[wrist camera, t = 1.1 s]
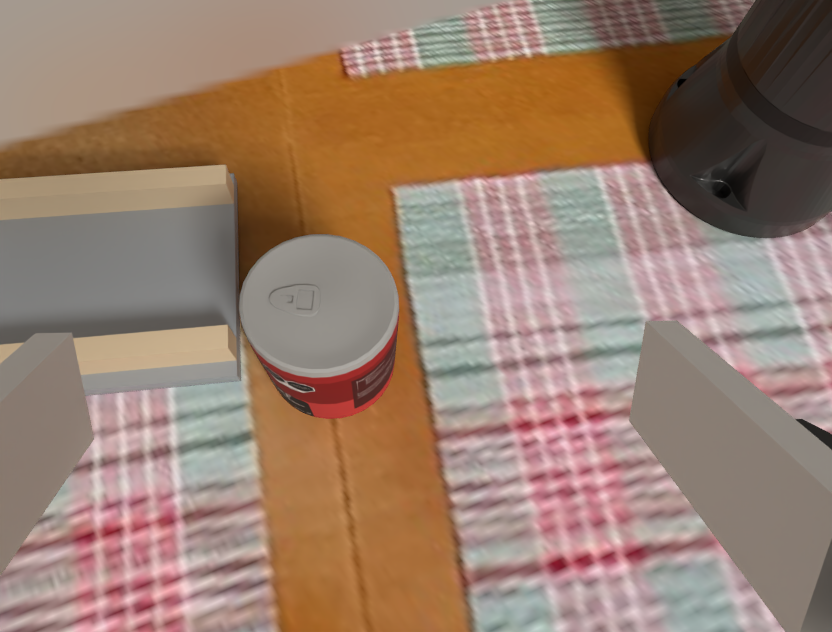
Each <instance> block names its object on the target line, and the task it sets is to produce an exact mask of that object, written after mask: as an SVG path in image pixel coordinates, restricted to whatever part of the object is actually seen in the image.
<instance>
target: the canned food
mask: <svg viewBox="0 0 832 632" xmlns="http://www.w3.org/2000/svg"><path fill="white" fill-rule="evenodd" d="M239 312H240V317H241V322H242V327H243V330H244V332H245V334H246V337H247V339H248V341H249V343H250V344H251V347H252V349H253V350H254V352H255V354H256V355H257V357H258V359H259V360H260V362H261V364H262V365H263V367H264V369H265V370H266V372H267V374H268V375H269V377H270V379H271V380H272V382H273V383H274V385H275V387H276V388H277V390H278V391H279V393H280V394H281V395H282V397H283V398H284V399H285V400H286V401H287V402H288V403H289V404H290V405H291V406H293V407H294V408H296V409H298V410H299V411H301V412H303V413H305V414H308V415H311V416H314V417H319V418H326V419H332V418H343V417H347V416H352V415H354V414H356V413H359V412H361V411H363V410H365V409H366V408H368V407H369V406H371V405H372V404H374V403H375V402H376V401H377V400H378V399H379V398H380V397H381V396H382V394H383V393H384V391H385V390H386V388H387V387H388V385H389V382H390V380H391V377H392V375H393V368H394V361H395V351H396V341H397V331H398V321H399V299H398V293H397V289H396V285H395V282H394V279H393V277H392V275H391V273H390V271H389V269H388V267H387V266H386V265H385V264H384V263H383V261H382V260H381V259H380V258H379V257H378V256H377V255H376V254H375V253H373V252H372V251H371V250H370V249H368V248H367V247H365V246H363V245H361V244H360V243H358V242H356V241H353V240H350V239H347V238H344V237H341V236H335V235H328V234H314V235H306V236H301V237H296V238H293V239H291V240H288V241H285V242H282V243H281V244H279V245H277V246H276V247H274V248H272V249H270V250H269V251H268V252H267V253H265V254H264V255H263V256H262V257H261V258H260V259H258V261H257V262H256V263H255V264H254V266H253V267H252V268H251V269H250V271H249V273H248V275H247V277H246V279H245V280H244V282H243V286H242V290H241V293H240V302H239Z"/></svg>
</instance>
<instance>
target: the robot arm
mask: <svg viewBox="0 0 832 632" xmlns="http://www.w3.org/2000/svg"><path fill="white" fill-rule="evenodd" d="M649 149H650V154H651V158H652V161H653V164H654V167H655V169H656V171H657V173H658V175H659V177H660V179H661V180H662V182H663V184H664V185H665V186H666V188H667V189H668V190H669V192H670V193H671V194H672V195H673V196H674V197H675V198H676V199H677V200H678V201H679V202H680V203H681V204H682V205H683V206H684V207H685V208H686V209H688V210H689V211H690V212H692V213H693V214H694V215H696V216H697V217H699V218H700V219H702V220H704V221H705V222H707V223H709V224H711V225H713V226H715V227H718V228H720V229H722V230H725V231H728V232H731V233H734V234H738V235H743V236H748V237H756V238H776V237H783V236H788V235H792V234H795V233H798V232H801V231H803V230H805V229H807V228H809V227H811V226H812V225H814V224H815V223H817V222H818V221H819V220H820V219H822V218H823V217H824V216H826V215H827V214H828V213H829V212H831V211H832V0H756V1H755V2H754V4H753V5H752V7H751V8H750V10H749V11H748V13H747V14H746V16H745V17H744V19H743V20H742V22H741V23H740V25H739V26H738V28H737V29H736V31H735V32H734V34H733V35H732V36H731V37H730V38H729V39H728V40H726V41H725V42H724V43H723V44H721V45H720V46H719V47H717V48H716V49H715V50H713V51H712V52H711V53H709V54H708V55H707V56H705V57H704V58H703V59H702V60H701V61H699V62H698V63H697V64H696V65H695V66H693V67H691V68H690V69H688V70H687V71H686V72H684V73H683V74H682V75H681V76H680V77H679V78H678V79H677V80H676V81H675V82H674V83H673V84H672V85H671V87H670V88H669V89H668V91H667V92H666V94H665V95H664V97H663V99H662V100H661V102H660V104H659V105H658V107H657V108H656V110H655V112H654V114H653V117H652V120H651V123H650V128H649ZM629 421H630V423H631V424H632V425H633V427H634V428H635V429H636V431H637V432H638V433H639V435H640V436H641V437H642V439H643V440H644V441H645V443H646V444H647V445H648V447H649V448H650V450H651V451H652V452H653V454H654V455H655V456H656V458H657V459H658V460H659V462H660V463H661V464H662V466H663V467H664V468H665V470H666V471H667V472H668V474H669V475H670V476H671V478H672V479H673V481H674V482H675V483H676V485H677V486H678V487H679V489H680V490H681V491H682V493H683V494H684V495H685V497H686V498H687V499H688V501H689V502H690V503H691V505H692V506H693V508H694V509H695V510H696V512H697V513H698V514H699V516H700V517H701V518H702V520H703V521H704V522H705V524H706V525H707V526H708V528H709V529H710V530H711V532H712V533H713V534H714V536H715V537H716V539H717V540H718V541H719V543H720V544H721V545H722V547H723V548H724V549H725V551H726V552H727V553H728V555H729V556H730V557H731V559H732V560H733V561H734V563H735V564H736V565H737V567H738V568H739V570H740V571H741V572H742V574H743V575H744V576H745V578H746V579H747V580H748V582H749V583H750V584H751V586H752V587H753V588H754V590H755V591H756V592H757V594H758V595H759V596H760V598H761V599H762V601H763V602H764V603H765V605H766V606H767V607H768V609H769V610H770V611H771V613H772V614H773V615H774V617H775V618H776V619H777V621H778V622H779V623H780V625H781V626H782V627H783V629H784V630H785V632H832V435H831V434H830V433H828V432H826V431H824V430H822V429H821V428H819V427H817V426H815V425H813V424H811V423H809V422H807V421H805V420H803V419H794V418H793V417H792V416H791V415H789V414H788V413H787V412H786V411H785V410H783V409H782V408H781V407H780V406H779V405H777V404H776V403H775V402H774V401H773V400H771V399H770V398H769V397H768V396H767V395H765V394H764V393H763V392H762V391H761V390H759V389H758V388H757V387H756V386H755V385H753V384H752V383H751V382H750V381H749V380H747V379H746V378H745V377H744V376H743V375H741V374H740V373H739V372H738V371H737V370H735V369H734V368H733V367H732V366H731V365H729V364H728V363H727V362H726V361H725V360H723V359H722V358H721V357H720V356H719V355H717V354H716V353H715V352H714V351H713V350H711V349H710V348H709V347H708V346H707V345H705V344H704V343H703V342H702V341H701V340H699V339H698V338H697V337H696V336H695V335H693V334H692V333H691V332H690V331H689V330H687V329H686V328H685V327H684V326H683V325H681V324H680V323H679V322H678V321H646V324H645V330H644V336H643V342H642V347H641V353H640V359H639V365H638V371H637V377H636V383H635V389H634V395H633V401H632V407H631V413H630V419H629ZM93 440H94V436H93V431H92V426H91V421H90V417H89V412H88V407H87V402H86V398H85V393H84V388H83V383H82V379H81V374H80V369H79V364H78V360H77V355H76V350H75V345H74V341H73V336H72V333H35V334H34V335H33V336H32V337H30V338H29V339H28V340H27V341H26V342H25V343H24V344H22V345H21V346H20V347H19V348H18V349H17V350H16V351H14V352H13V353H12V354H11V355H10V356H9V357H7V358H6V359H5V360H4V361H3V362H2V363H1V364H0V576H1V574H2V573H3V571H4V570H5V569H6V567H7V566H8V564H9V563H10V561H11V560H12V558H13V557H14V555H15V554H16V552H17V551H18V549H19V548H20V547H21V545H22V544H23V542H24V541H25V539H26V538H27V536H28V535H29V533H30V532H31V530H32V529H33V528H34V526H35V525H36V523H37V522H38V520H39V519H40V517H41V516H42V514H43V513H44V511H45V510H46V508H47V507H48V506H49V504H50V503H51V501H52V500H53V498H54V497H55V495H56V494H57V492H58V491H59V489H60V488H61V487H62V485H63V484H64V482H65V481H66V479H67V478H68V476H69V475H70V473H71V472H72V470H73V469H74V467H75V466H76V465H77V463H78V462H79V460H80V459H81V457H82V456H83V454H84V453H85V451H86V450H87V448H88V447H89V446H90V444H91V443H92V441H93Z"/></svg>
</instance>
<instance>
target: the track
mask: <svg viewBox="0 0 832 632" xmlns="http://www.w3.org/2000/svg"><path fill="white" fill-rule="evenodd" d="M35 333H72V336H73V341H74V345H75V350H76V355H77V360H78V364H79V369H80V374H81V379H82V383H83V388H84V393H85V396H88V395H98V394H109V393H119V392H129V391H140V390H150V389H160V388H171V387H181V386H191V385H202V384H212V383H222V382H233V381H241V361H240V312H239V256H238V203H237V181H236V178H235V176H234V173H231V174H229V171H228V169H227V166H226V165H213V166H197V167H182V168H166V169H151V170H135V171H120V172H105V173H89V174H74V175H58V176H43V177H28V178H12V179H0V364H1V363H2V362H3V361H4V360H5V359H6V358H7V357H9V356H10V355H11V354H12V353H13V352H14V351H16V350H17V349H18V348H19V347H20V346H21V345H22V344H24V343H25V342H26V341H27V340H28V339H29V338H30V337H32V336H33V335H34V334H35Z"/></svg>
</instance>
